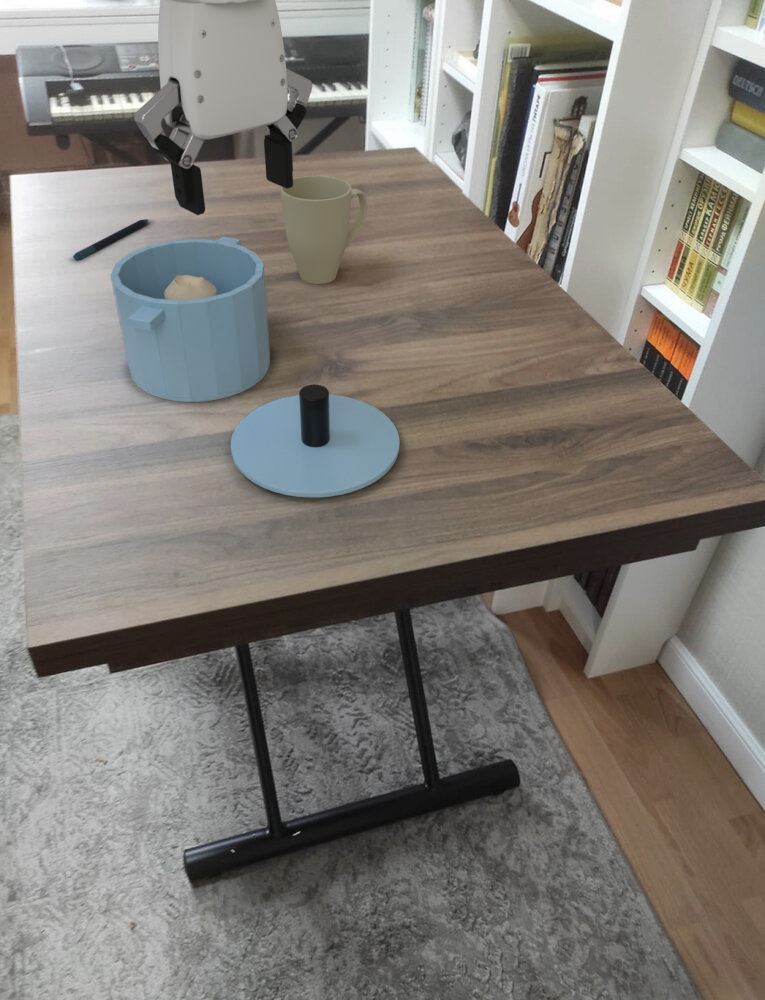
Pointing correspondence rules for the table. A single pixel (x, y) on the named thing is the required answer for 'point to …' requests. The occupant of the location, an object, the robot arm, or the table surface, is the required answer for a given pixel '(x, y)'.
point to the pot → (193, 319)
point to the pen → (109, 239)
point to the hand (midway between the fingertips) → (237, 196)
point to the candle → (189, 288)
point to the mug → (320, 224)
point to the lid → (315, 444)
